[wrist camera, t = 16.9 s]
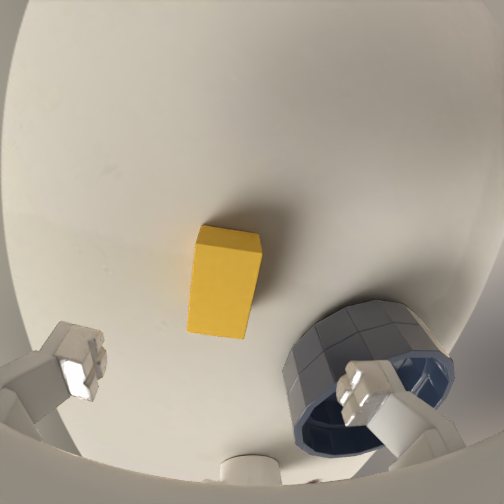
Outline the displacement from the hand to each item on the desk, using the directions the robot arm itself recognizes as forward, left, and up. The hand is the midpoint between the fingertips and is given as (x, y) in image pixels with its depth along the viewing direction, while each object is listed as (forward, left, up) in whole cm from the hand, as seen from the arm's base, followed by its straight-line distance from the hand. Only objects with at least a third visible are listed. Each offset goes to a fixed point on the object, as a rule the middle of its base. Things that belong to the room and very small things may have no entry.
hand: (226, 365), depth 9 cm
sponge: (0, +1, -8) cm, 8 cm away
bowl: (-7, +9, -8) cm, 14 cm away
